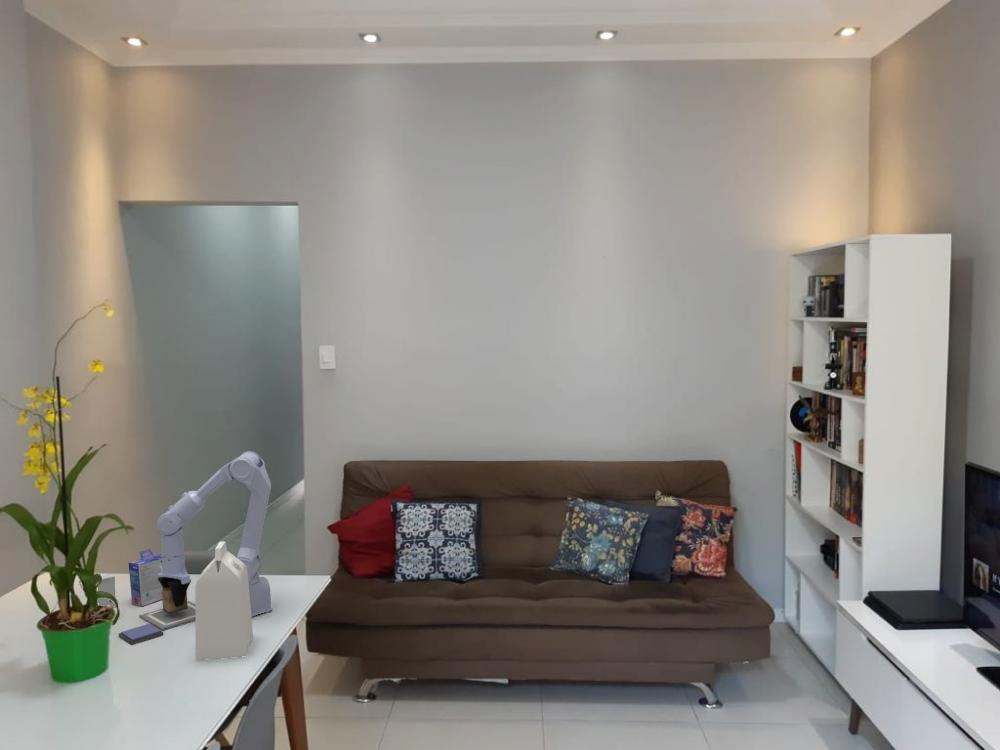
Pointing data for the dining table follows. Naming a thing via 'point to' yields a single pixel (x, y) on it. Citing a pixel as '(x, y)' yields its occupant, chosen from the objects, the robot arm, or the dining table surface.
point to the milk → (223, 608)
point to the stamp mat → (170, 617)
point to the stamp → (171, 602)
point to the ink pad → (140, 634)
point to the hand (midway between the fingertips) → (175, 603)
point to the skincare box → (107, 588)
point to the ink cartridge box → (145, 579)
